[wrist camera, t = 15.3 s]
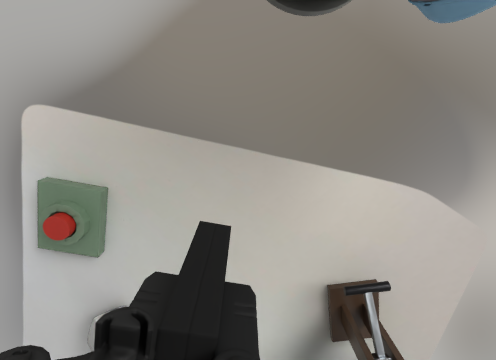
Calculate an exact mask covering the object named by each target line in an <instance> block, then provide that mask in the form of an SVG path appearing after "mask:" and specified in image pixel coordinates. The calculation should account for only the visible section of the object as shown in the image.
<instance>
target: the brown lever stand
mask: <svg viewBox="0 0 496 360" xmlns="http://www.w3.org/2000/svg"><path fill="white" fill-rule="evenodd" d="M376 282H377V281H376V280H367V281H359V282H351V283H342V284H334V285H327V287H328V301H329V316H330V331H331V339H332V341H333V342H338V341H346V340H349V341H350V343H351V345H352V348H353V350H354V352H355V354H356V357H357V359H358V360H374V358H373V356H372V354H371V352H370V350H369V348H368V346H367V344H366V342H365V340H364V338H372V334H371V329H370V324H369V319H368V314H367V309H366V304H365V300H364V295H363V294H359V295H351V296H345V294H344V291H343V287H344V286H351V285H359V284H368V283H376ZM372 295H373V300H374V305H375V309H376V314H377V319H378V324H379V328H380V333H381V338H382V342H383V347H384V352H385V353H386V354H387V355H388V356H389V357H391V358H392V360H404V359H403V357H402V356H401V354H400V352H399V351H398V349H397V348H396V346H395V344H394V343H393V341H392V340H391V338H390V337H389V335H388V333H387V332H386V330H385V329H384V327H383V325H382V324H381V322H380V321H379V292H376V293H372ZM372 339H373V338H372Z"/></svg>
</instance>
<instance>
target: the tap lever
mask: <svg viewBox="0 0 496 360" xmlns="http://www.w3.org/2000/svg"><path fill="white" fill-rule="evenodd" d="M390 290H391V286H390V284H389V282H388V281H384V282H376V283H368V284H359V285H351V286H344V287H343V291H344V294H345V296H351V295H359V294H363V295H364V300H365V304H366V309H367V314H368V319H369V324H370V329H371V334H372V338H373V343H374V348H375V353H372V356H373V358H374V360H392V358H391V357H389V356H388V355H387V354H386V353H385V352H384V347H383V342H382V338H381V333H380V328H379V324H378V319H377V314H376V309H375V305H374V300H373V295H372V293H376V292H384V291H390Z"/></svg>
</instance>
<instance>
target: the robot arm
mask: <svg viewBox="0 0 496 360" xmlns="http://www.w3.org/2000/svg"><path fill="white" fill-rule="evenodd" d="M408 1H409V2H410V3H412V4H413V5H416V6H417V7H418V8H419V10H420V11H421V12H422V13H423V14H424V15H425V16H426V17H427V18H428V19H429V20H432V21H434V22H438V23H450V22H455V21H459V20H462V19H465V18H468V17H471V16H473V15H476V14H478V13H480V12H483V11H485V10H486V9H489V8H491V7H493V6H495V5H496V0H408ZM230 232H231V226H227V225H221V224H215V223H209V222H203V221H200V222H199V225H198V228H197V230H196V233H195V235H194V238H193V240H192V243H191V245H190V248H189V250H188V253H187V255H186V258H185V260H184V263H183V266H182V268H181V271H180V273H179V275H174V274H168V273H162V272H154V273H153V274H152V275H150V276H149V277H147V278H146V279H145V280H144V282H143V284H142V285H141V287H140V289H139V291H138V292H137V294H136V296H135V297H134V300H133V301H132V303H131V304H130V306H129V307H121V308H117V309H113V310H111V311H109V312H108V313H106V314H104V315H103V316H102V317H101V318H100V319H99V320H98V321H97V322H96V323H95V339H94V351H92V352H90V353H87V354H85V355H81V356H77V357H71V358H64V359H57V360H260V357H259V348H258V330H257V318H256V316H257V312H256V295H255V294H254V292H253V290H252V289H251V287H250V285H243V284H237V283H231V282H225V275H226V266H227V257H228V249H229V240H230ZM0 360H51V358H50V354H49V352H48V351H46V350H45V349H44V348H42V347H38V346H32V345H29V346H21V347H16V348H13V349H11V350H7V351H5V352H2V353H1V354H0Z"/></svg>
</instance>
